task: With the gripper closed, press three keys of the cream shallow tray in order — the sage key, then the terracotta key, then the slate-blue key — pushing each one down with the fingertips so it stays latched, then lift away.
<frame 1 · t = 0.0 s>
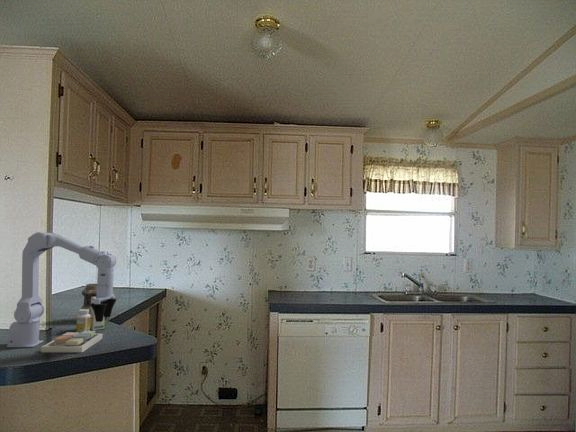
hand: (103, 319, 150), 10 cm above the countertop, tool pointing down, fingers open, 7 cm apart
key rose: (70, 336, 152), point 3 cm above the countertop, slide at 0.0 cm
syrup box: (97, 328, 175), on the countertop
key slate: (81, 338, 149), point 3 cm above the countertop, slide at 0.0 cm
cream shallow tray: (73, 345, 149), on the countertop
key sage: (87, 334, 155), point 3 cm above the countertop, slide at 0.0 cm
supplement bottle: (82, 332, 168), on the countertop
key terracotta: (63, 339, 146), point 3 cm above the countertop, slide at 0.0 cm
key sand: (74, 342, 144), point 3 cm above the countertop, slide at 0.0 cm
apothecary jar: (93, 320, 190), on the countertop
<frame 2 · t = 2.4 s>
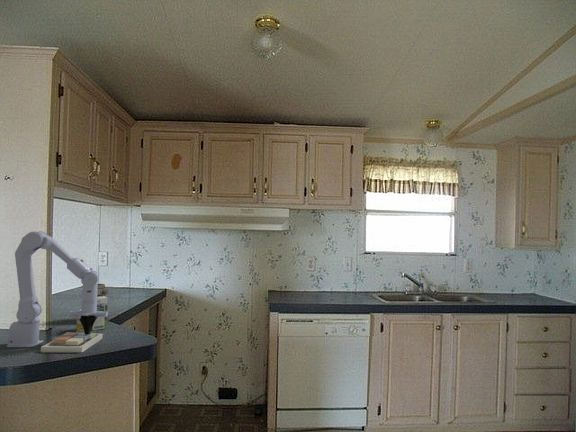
hand: (87, 334, 155), 3 cm above the countertop, tool pointing down, fingers closed, pressing on key sage
key sage: (87, 336, 155), point 2 cm above the countertop, slide at 0.9 cm, touching gripper
everything else where it was.
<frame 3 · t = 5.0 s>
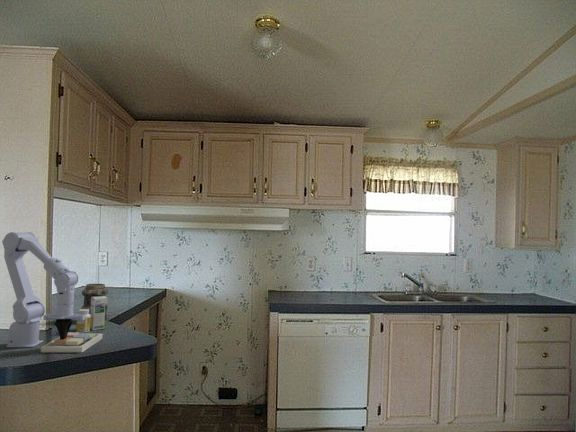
hand: (63, 339, 146), 3 cm above the countertop, tool pointing down, fingers closed, pressing on key terracotta
key sage: (87, 337, 155), point 2 cm above the countertop, slide at 1.2 cm
key terracotta: (63, 341, 146), point 2 cm above the countertop, slide at 0.5 cm, touching gripper
everything else where it was.
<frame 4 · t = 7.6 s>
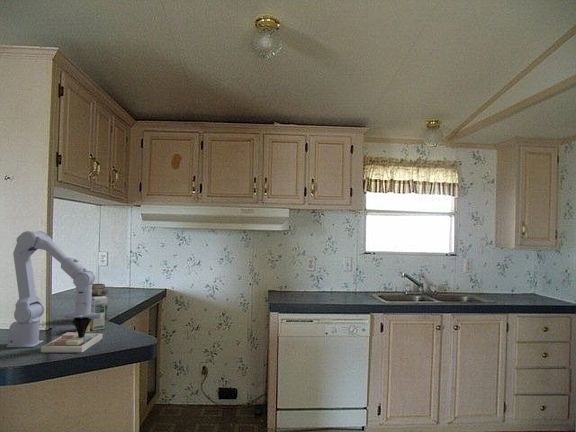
hand: (81, 337, 149), 3 cm above the countertop, tool pointing down, fingers closed, pressing on key slate
key slate: (81, 339, 149), point 2 cm above the countertop, slide at 0.5 cm, touching gripper
key terracotta: (63, 343, 146), point 2 cm above the countertop, slide at 1.2 cm
everything else where it was.
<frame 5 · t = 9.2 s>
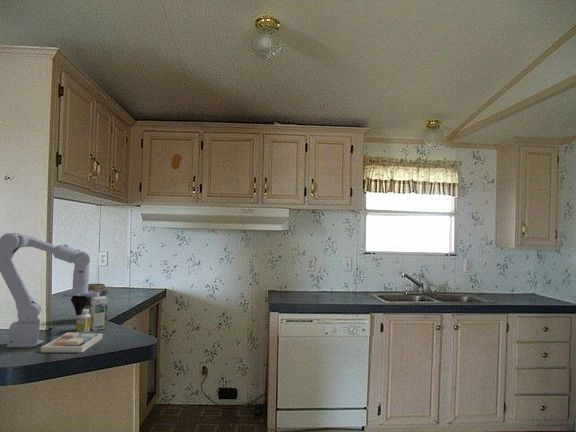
hand: (78, 314, 155), 10 cm above the countertop, tool pointing down, fingers closed
key slate: (81, 341, 149), point 2 cm above the countertop, slide at 1.2 cm
everything else where it was.
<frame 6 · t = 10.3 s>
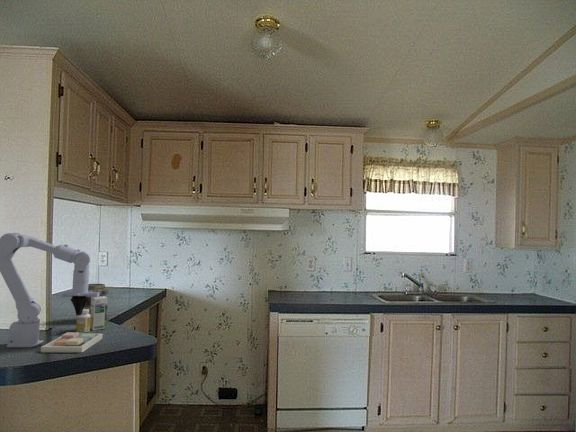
hand: (78, 314, 155), 10 cm above the countertop, tool pointing down, fingers closed
nothing on the countertop moved.
at the end: key sage slide at 1.2 cm; key terracotta slide at 1.2 cm; key slate slide at 1.2 cm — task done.
